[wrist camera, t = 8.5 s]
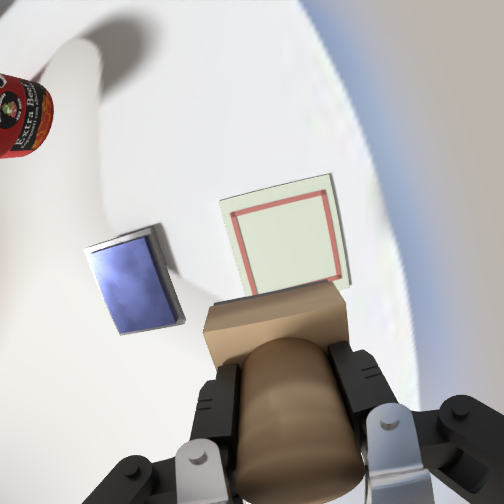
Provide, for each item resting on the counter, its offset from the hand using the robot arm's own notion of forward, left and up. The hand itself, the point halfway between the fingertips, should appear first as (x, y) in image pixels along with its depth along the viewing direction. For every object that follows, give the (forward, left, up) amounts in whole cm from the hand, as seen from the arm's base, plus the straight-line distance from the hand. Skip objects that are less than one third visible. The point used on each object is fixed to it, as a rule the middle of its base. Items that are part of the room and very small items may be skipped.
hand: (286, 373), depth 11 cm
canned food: (-19, -19, -15) cm, 31 cm away
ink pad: (0, -12, -15) cm, 20 cm away
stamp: (0, 0, -3) cm, 3 cm away
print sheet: (0, +2, -15) cm, 15 cm away
